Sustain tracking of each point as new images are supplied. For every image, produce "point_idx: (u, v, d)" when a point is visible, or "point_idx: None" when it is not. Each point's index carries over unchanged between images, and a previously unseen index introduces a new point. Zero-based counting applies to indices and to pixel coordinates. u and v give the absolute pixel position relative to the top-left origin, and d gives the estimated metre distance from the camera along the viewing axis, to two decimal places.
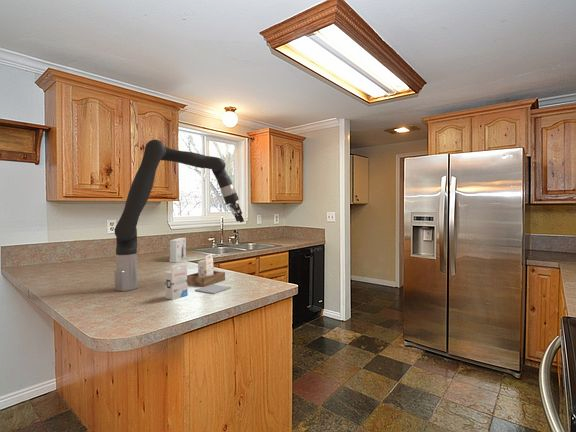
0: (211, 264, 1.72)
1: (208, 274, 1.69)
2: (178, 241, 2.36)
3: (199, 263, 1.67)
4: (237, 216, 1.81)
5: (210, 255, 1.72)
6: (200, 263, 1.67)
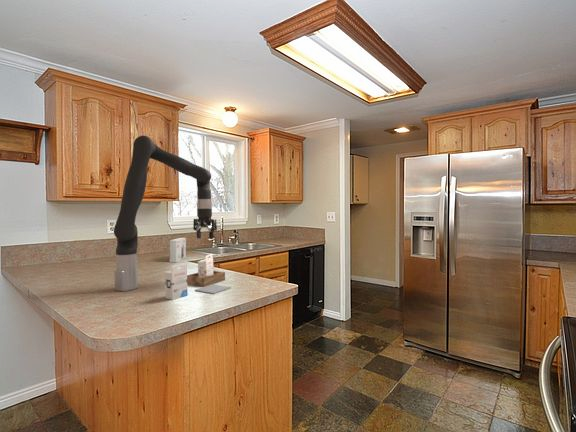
0: (211, 264, 1.72)
1: (208, 274, 1.69)
2: (178, 241, 2.36)
3: (199, 263, 1.67)
4: (199, 233, 1.73)
5: (210, 255, 1.72)
6: (200, 263, 1.67)
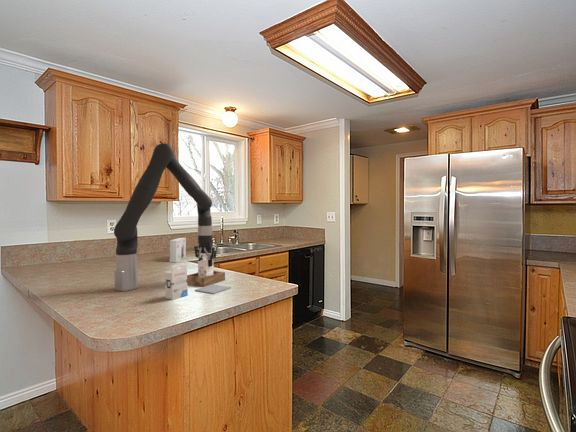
0: None
1: (208, 274, 1.69)
2: (178, 241, 2.36)
3: (199, 263, 1.67)
4: None
5: None
6: (200, 263, 1.67)
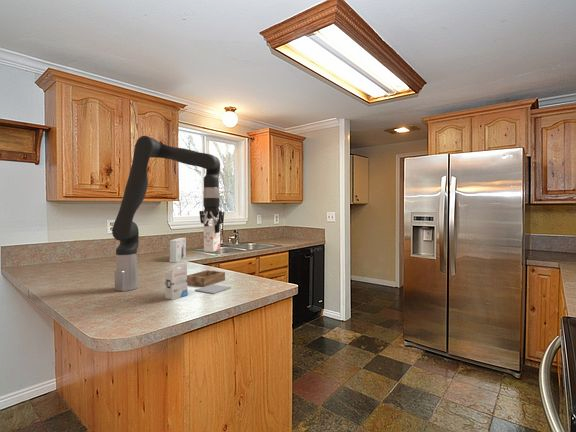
0: None
1: (215, 241, 1.52)
2: (178, 241, 2.36)
3: (205, 228, 1.51)
4: None
5: None
6: (206, 228, 1.51)
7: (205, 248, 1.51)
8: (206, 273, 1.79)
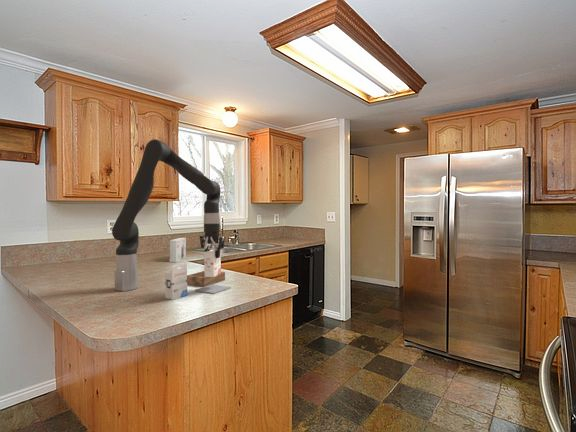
0: None
1: (215, 266, 1.53)
2: (178, 241, 2.36)
3: (205, 254, 1.51)
4: None
5: None
6: (206, 254, 1.51)
7: (206, 274, 1.52)
8: None
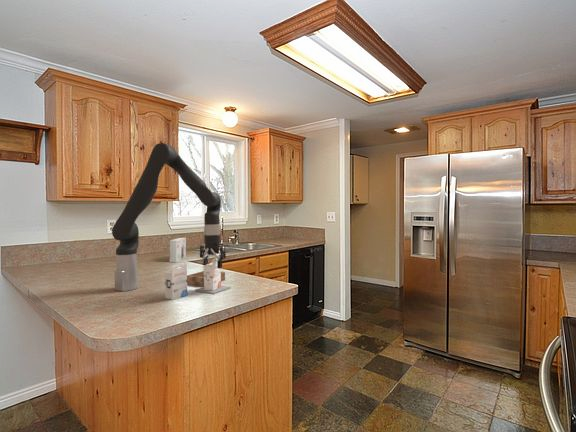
0: None
1: (215, 279, 1.53)
2: (178, 241, 2.36)
3: (205, 267, 1.52)
4: (206, 260, 1.57)
5: None
6: (206, 267, 1.52)
7: (205, 287, 1.52)
8: None
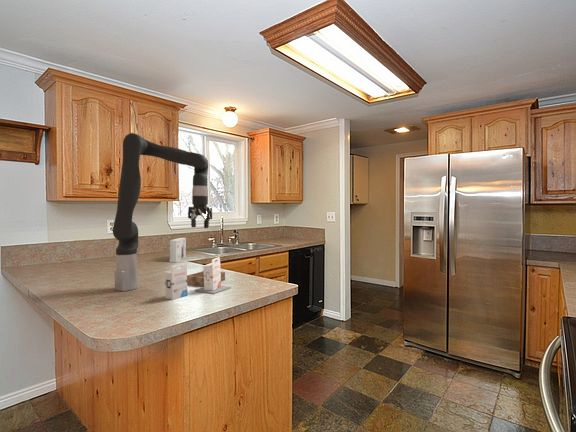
0: (218, 268, 1.57)
1: (215, 279, 1.53)
2: (178, 241, 2.36)
3: (205, 267, 1.52)
4: (194, 221, 1.64)
5: (217, 259, 1.56)
6: (206, 267, 1.52)
7: (205, 287, 1.52)
8: None
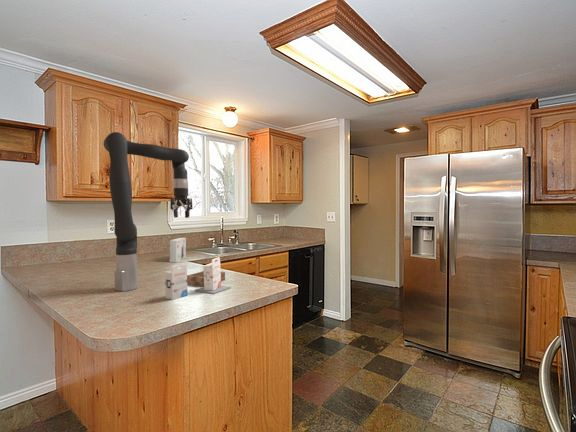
0: (218, 268, 1.57)
1: (215, 279, 1.53)
2: (178, 241, 2.36)
3: (205, 267, 1.52)
4: (176, 212, 1.78)
5: (217, 259, 1.56)
6: (206, 267, 1.52)
7: (205, 287, 1.52)
8: None
